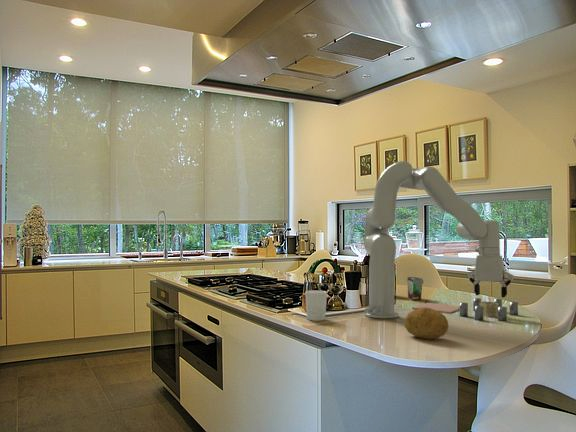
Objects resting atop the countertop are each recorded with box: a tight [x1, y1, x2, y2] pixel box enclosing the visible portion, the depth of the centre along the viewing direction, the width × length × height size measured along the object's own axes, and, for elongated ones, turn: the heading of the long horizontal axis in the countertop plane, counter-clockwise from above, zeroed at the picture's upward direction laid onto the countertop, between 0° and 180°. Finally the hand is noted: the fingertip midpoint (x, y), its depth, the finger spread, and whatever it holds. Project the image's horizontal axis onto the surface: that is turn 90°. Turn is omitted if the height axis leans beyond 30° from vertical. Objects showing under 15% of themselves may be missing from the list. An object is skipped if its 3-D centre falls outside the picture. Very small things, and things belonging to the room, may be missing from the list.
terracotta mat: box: [411, 302, 460, 314], centre depth 199 cm, size 16×16×1 cm
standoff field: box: [459, 297, 519, 322], centre depth 184 cm, size 27×17×5 cm, turn 141°
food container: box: [406, 276, 425, 302], centre depth 225 cm, size 12×6×10 cm, turn 179°
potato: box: [404, 307, 449, 340], centre depth 145 cm, size 10×13×9 cm
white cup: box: [304, 289, 328, 322], centre depth 174 cm, size 8×8×10 cm
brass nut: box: [480, 301, 498, 318], centre depth 184 cm, size 7×6×5 cm
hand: (490, 296), depth 185 cm, fingers open, 9 cm apart
